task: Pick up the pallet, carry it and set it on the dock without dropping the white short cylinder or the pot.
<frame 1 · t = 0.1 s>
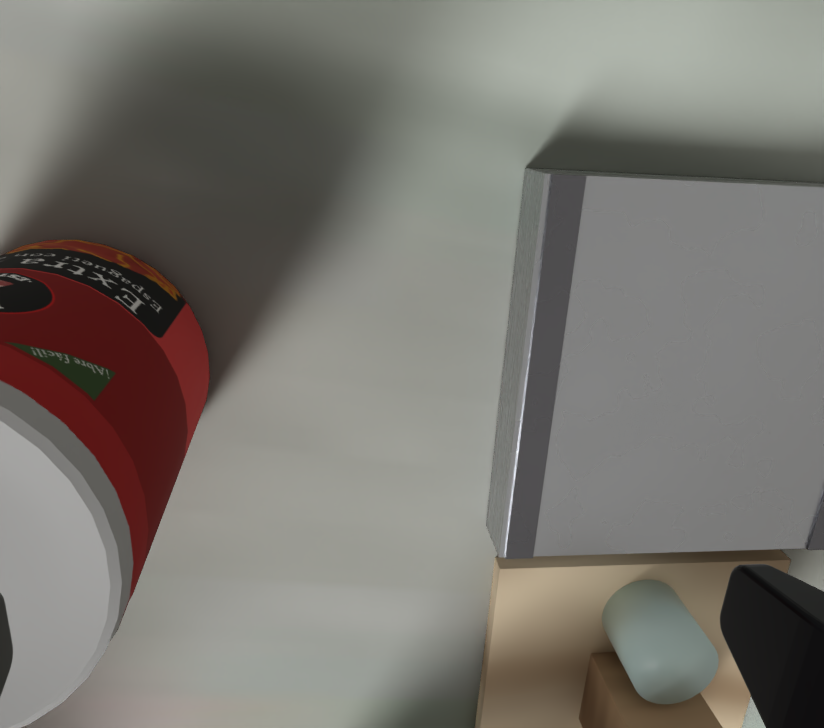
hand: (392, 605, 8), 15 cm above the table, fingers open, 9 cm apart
pallet: (613, 662, 30), on the table, touching white short cylinder a, pot b
dock: (680, 365, 24), on the table
pot b: (640, 612, 27), point 1 cm above the table, touching pallet
canned food: (92, 356, 22), on the table
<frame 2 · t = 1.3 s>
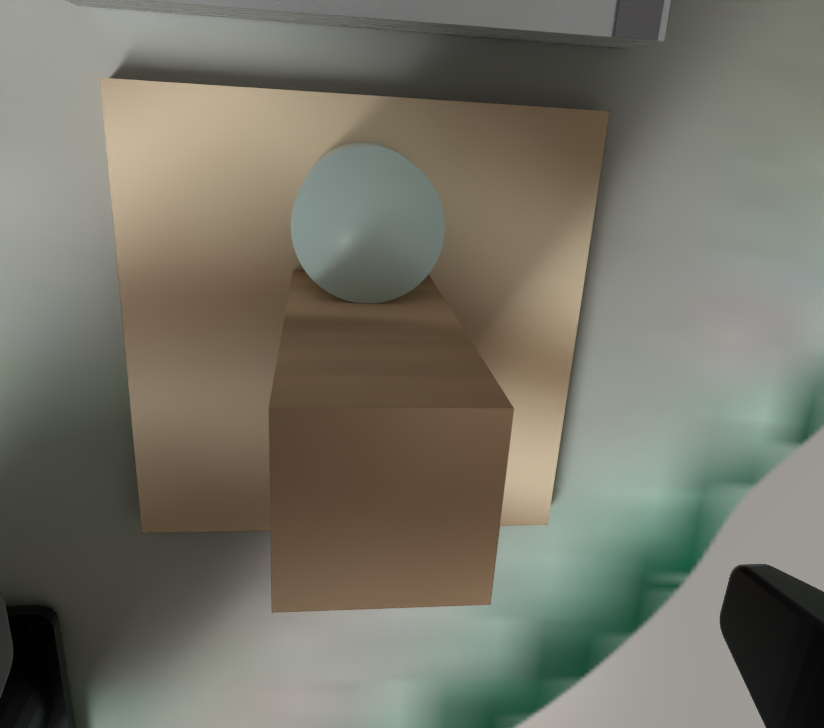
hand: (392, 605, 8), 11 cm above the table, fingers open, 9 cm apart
pallet: (357, 323, 19), on the table, touching white short cylinder a, pot b
pot b: (363, 208, 17), point 1 cm above the table, touching pallet
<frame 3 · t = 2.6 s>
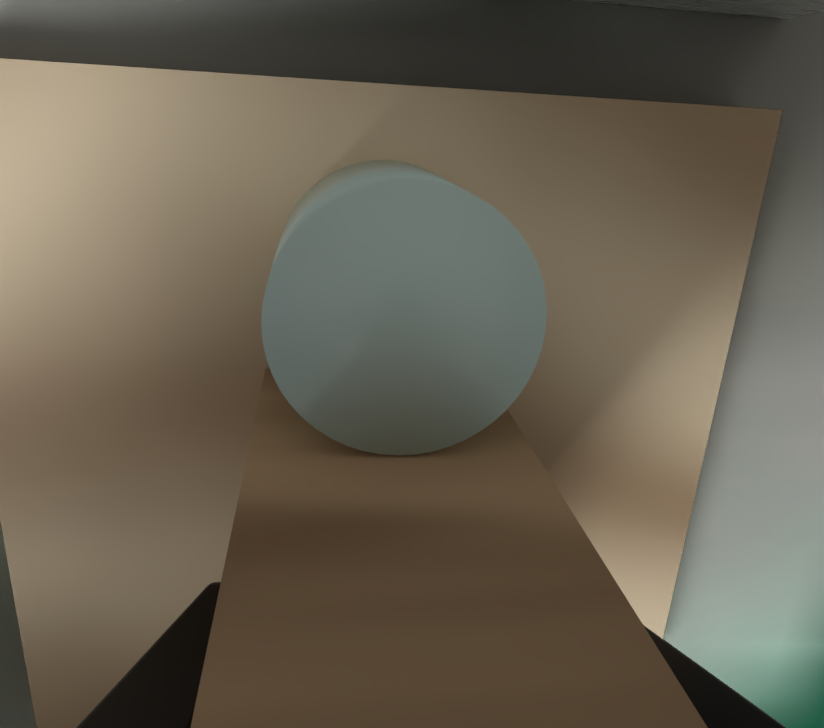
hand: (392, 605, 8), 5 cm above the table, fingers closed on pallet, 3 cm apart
pallet: (367, 434, 13), on the table, touching gripper, white short cylinder a, pot b
pot b: (383, 269, 10), point 1 cm above the table, touching pallet
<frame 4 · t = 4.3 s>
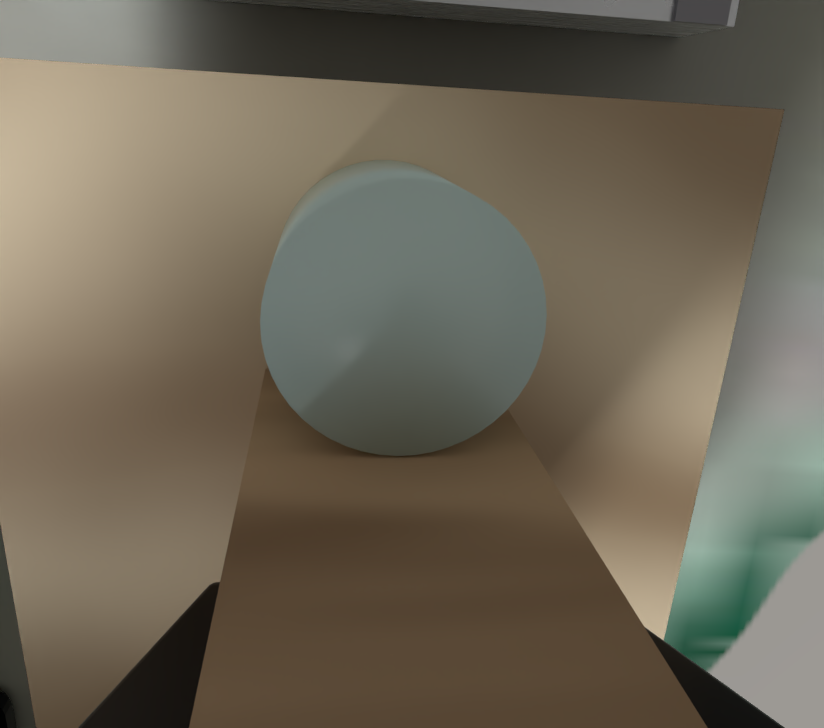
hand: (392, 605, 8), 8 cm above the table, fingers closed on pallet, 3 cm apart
pallet: (368, 435, 13), point 4 cm above the table, touching gripper, white short cylinder a, pot b
pot b: (383, 269, 10), point 5 cm above the table, touching pallet
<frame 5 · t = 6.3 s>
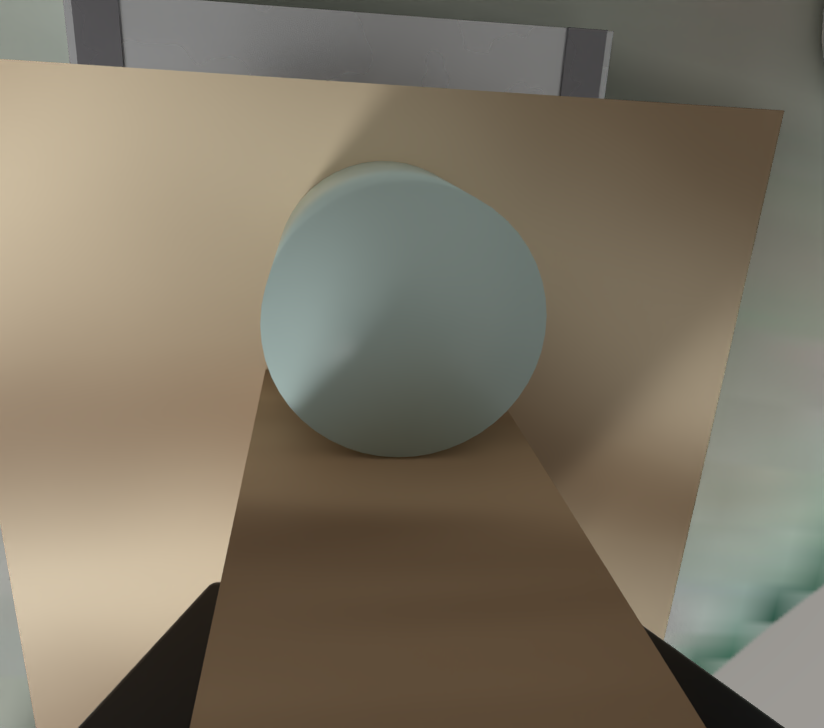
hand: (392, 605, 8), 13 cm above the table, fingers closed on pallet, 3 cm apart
pallet: (368, 435, 13), point 9 cm above the table, touching gripper, white short cylinder a, pot b
dock: (345, 265, 20), on the table
pot b: (383, 270, 10), point 10 cm above the table, touching pallet
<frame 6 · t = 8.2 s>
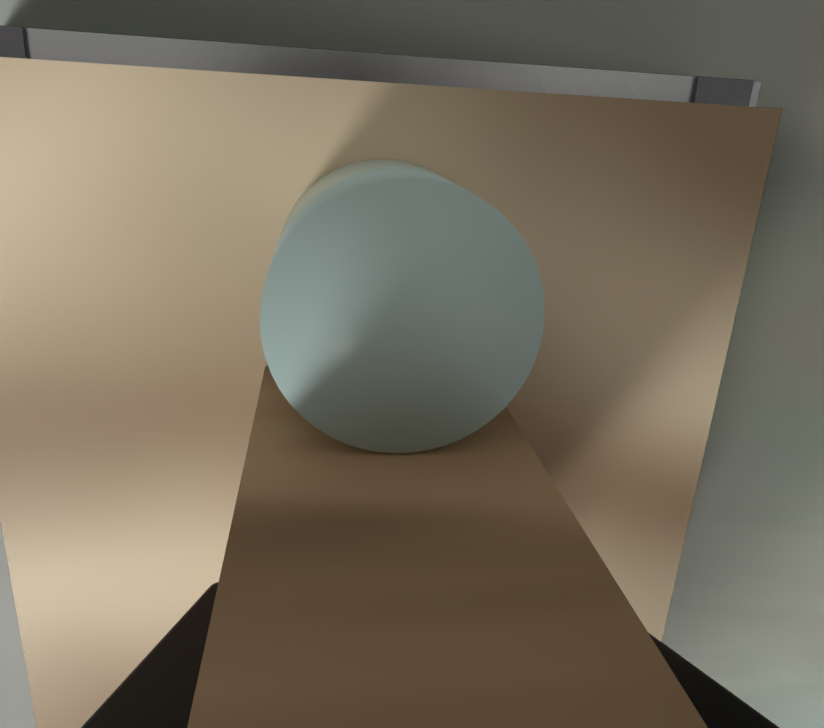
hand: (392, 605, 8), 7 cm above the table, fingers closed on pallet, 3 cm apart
pallet: (367, 433, 13), point 2 cm above the table, touching gripper, white short cylinder a, pot b
dock: (362, 386, 15), on the table
pot b: (383, 267, 10), point 4 cm above the table, touching pallet
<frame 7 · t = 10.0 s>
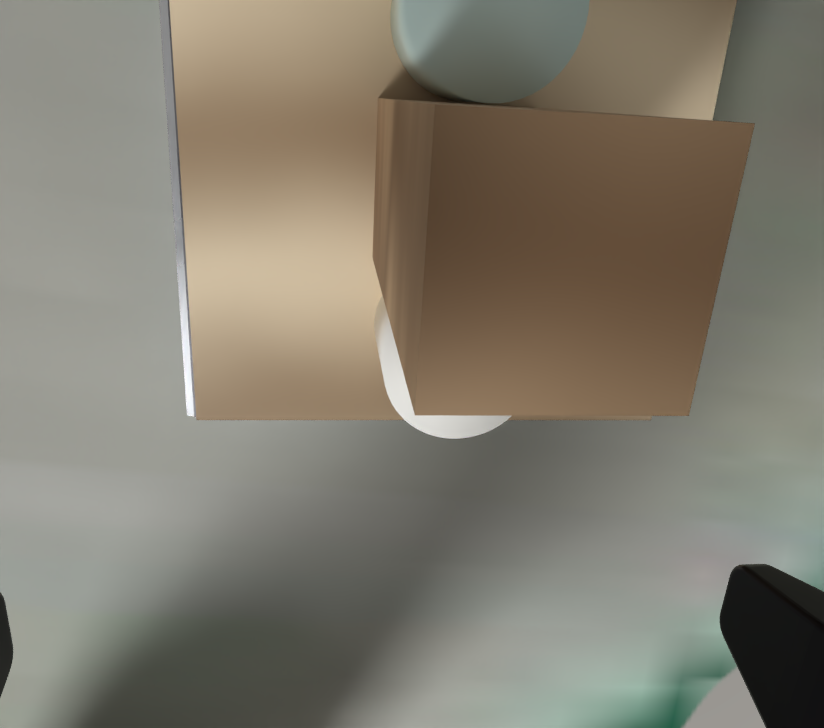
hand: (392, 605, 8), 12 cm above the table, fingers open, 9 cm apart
pallet: (443, 178, 17), point 2 cm above the table, touching dock, white short cylinder a, pot b
dock: (431, 170, 19), on the table
pot b: (465, 20, 14), point 3 cm above the table, touching pallet
white short cylinder a: (438, 324, 17), point 3 cm above the table, touching pallet
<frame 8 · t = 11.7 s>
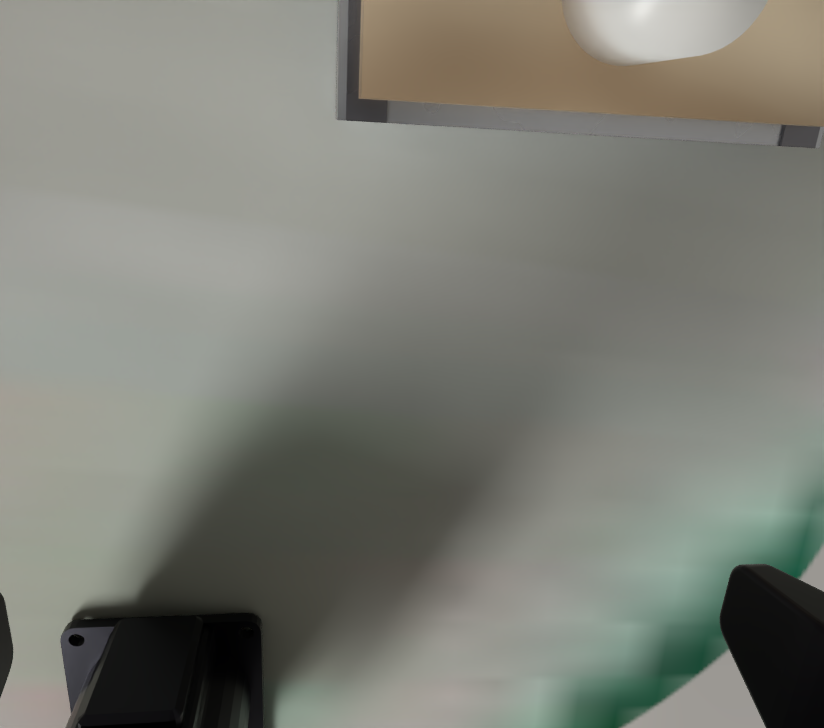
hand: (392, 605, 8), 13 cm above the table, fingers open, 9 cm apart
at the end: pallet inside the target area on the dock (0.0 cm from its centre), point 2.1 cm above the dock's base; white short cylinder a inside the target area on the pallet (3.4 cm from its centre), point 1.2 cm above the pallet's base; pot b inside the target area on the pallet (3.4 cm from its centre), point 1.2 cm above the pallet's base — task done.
